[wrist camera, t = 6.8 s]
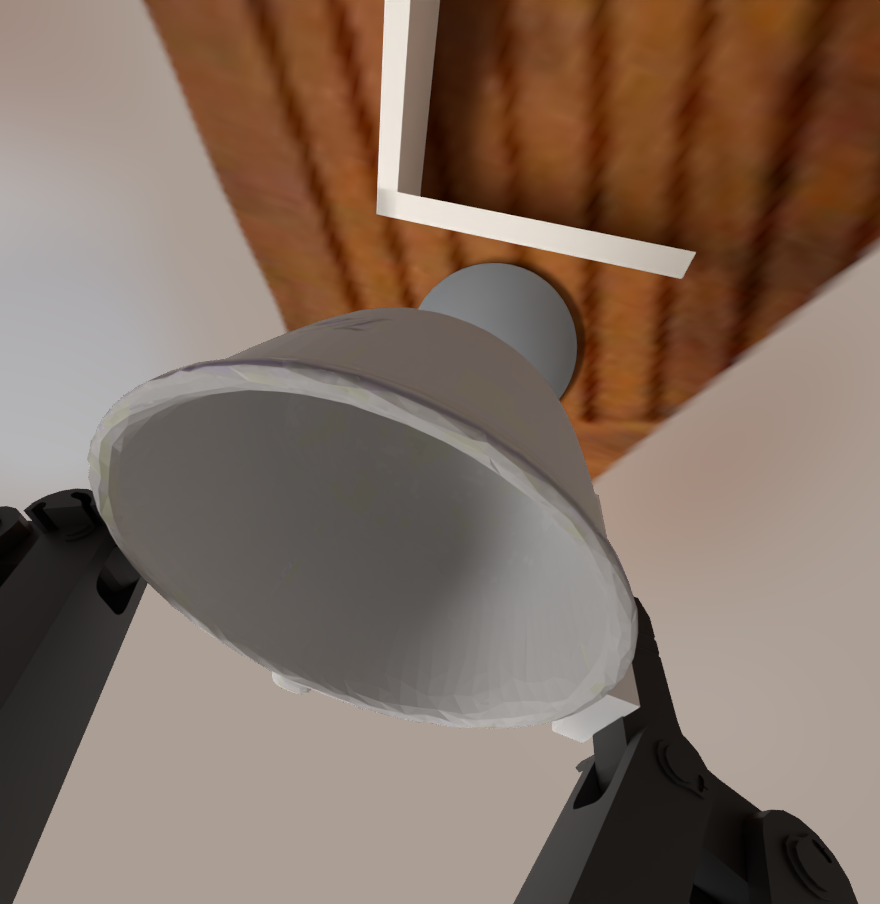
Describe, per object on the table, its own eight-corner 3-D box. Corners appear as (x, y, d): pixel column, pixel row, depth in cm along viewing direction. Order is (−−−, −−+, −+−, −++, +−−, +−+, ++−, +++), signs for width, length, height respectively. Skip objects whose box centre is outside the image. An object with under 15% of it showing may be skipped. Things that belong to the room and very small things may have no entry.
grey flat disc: (422, 244, 23) (419, 244, 22) (609, 285, 21) (610, 287, 21) (403, 406, 30) (401, 409, 30) (540, 445, 29) (540, 449, 28)
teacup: (412, 194, 9) (58, 83, 2) (659, 447, 11) (825, 755, 4) (262, 463, 17) (88, 604, 10) (420, 581, 19) (355, 760, 12)
